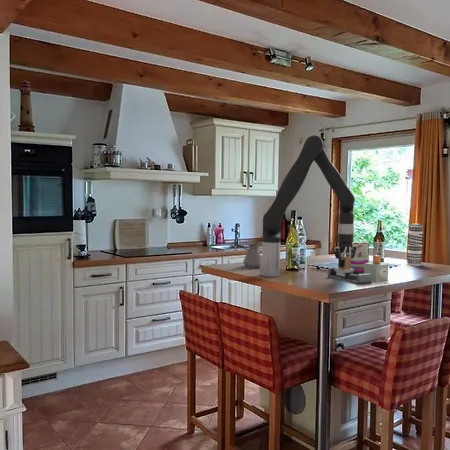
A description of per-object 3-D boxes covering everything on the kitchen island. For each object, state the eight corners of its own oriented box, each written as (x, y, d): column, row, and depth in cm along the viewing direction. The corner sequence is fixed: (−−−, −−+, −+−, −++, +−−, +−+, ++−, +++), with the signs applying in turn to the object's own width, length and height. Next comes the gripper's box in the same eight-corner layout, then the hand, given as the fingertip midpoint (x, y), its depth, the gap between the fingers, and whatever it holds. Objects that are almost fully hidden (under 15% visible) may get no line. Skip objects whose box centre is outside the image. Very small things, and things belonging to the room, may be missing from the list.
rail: (359, 284, 222) (359, 275, 221) (327, 276, 241) (328, 267, 241) (371, 283, 226) (372, 273, 225) (339, 275, 245) (340, 266, 245)
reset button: (376, 264, 234) (376, 256, 233) (371, 263, 237) (371, 255, 236) (381, 263, 235) (381, 255, 235) (376, 262, 238) (376, 254, 238)
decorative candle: (418, 263, 293) (420, 223, 291) (424, 266, 284) (426, 224, 282) (403, 263, 293) (405, 223, 291) (409, 265, 284) (411, 224, 282)
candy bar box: (364, 271, 261) (365, 241, 260) (368, 272, 256) (370, 242, 255) (345, 271, 259) (346, 241, 258) (349, 273, 254) (350, 242, 253)
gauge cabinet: (376, 281, 231) (377, 265, 230) (363, 278, 238) (364, 262, 238) (388, 280, 235) (389, 264, 234) (375, 277, 242) (376, 261, 241)
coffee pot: (254, 265, 275) (254, 239, 274) (267, 267, 266) (268, 241, 265) (225, 268, 262) (225, 241, 261) (238, 271, 253) (238, 243, 252)
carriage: (343, 277, 232) (343, 257, 231) (334, 275, 237) (335, 256, 237) (353, 276, 235) (354, 257, 235) (345, 274, 241) (345, 255, 240)
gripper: (351, 231, 241) (349, 265, 243) (329, 232, 235) (328, 266, 236) (361, 233, 235) (360, 267, 236) (340, 233, 228) (338, 269, 229)
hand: (344, 266), depth 236 cm, fingers closed on carriage, 3 cm apart
